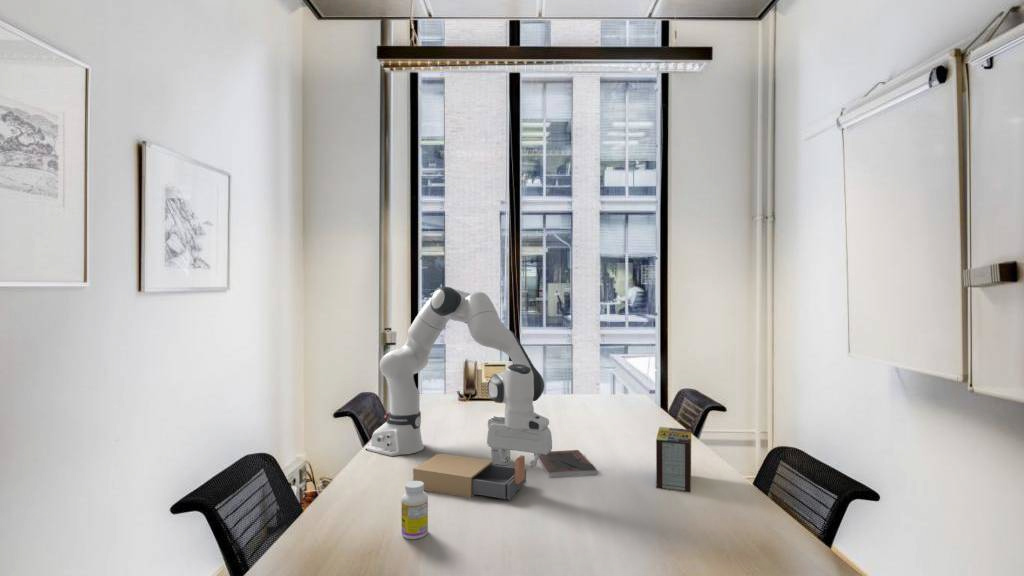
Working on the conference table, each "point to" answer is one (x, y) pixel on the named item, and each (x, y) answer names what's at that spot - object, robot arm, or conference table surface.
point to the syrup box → (496, 457)
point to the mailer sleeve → (449, 473)
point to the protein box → (673, 459)
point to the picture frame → (566, 464)
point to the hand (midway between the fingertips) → (518, 464)
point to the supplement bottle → (414, 511)
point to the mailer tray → (500, 480)
